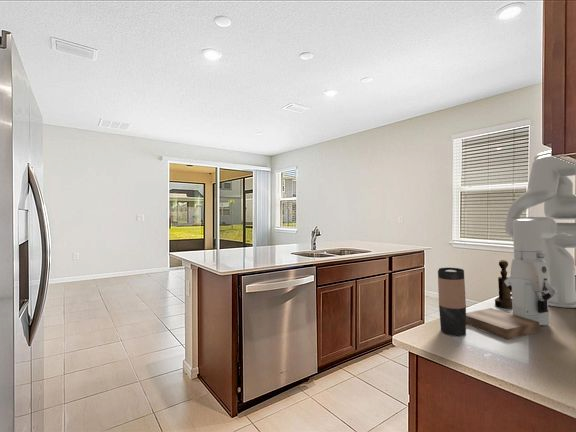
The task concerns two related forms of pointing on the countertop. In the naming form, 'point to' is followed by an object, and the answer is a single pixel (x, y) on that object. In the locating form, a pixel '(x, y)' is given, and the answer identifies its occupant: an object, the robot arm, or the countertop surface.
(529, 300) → the skincare box
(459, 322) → the travel mug
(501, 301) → the wooden pepper mill
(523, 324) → the walnut base board
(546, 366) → the countertop surface
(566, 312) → the countertop surface
